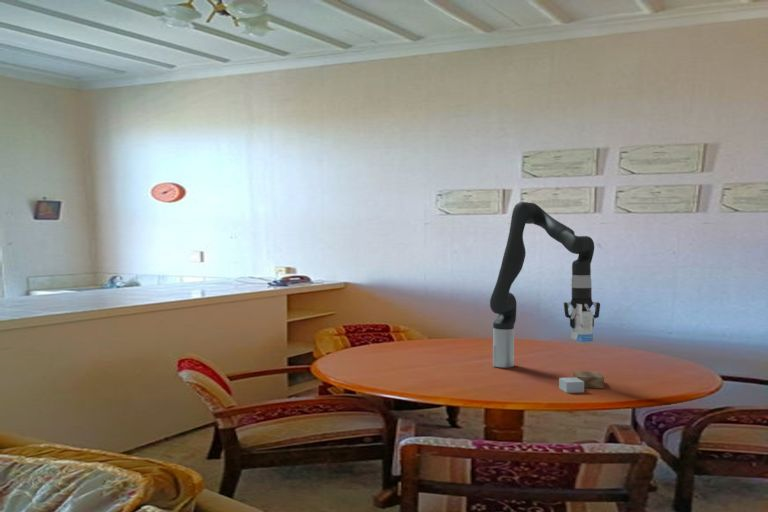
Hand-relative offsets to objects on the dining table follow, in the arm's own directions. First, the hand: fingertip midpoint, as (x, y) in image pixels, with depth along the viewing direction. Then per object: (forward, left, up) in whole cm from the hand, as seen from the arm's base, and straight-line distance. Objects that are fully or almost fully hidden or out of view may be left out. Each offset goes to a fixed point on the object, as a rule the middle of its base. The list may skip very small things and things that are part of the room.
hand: (581, 328), depth 242 cm
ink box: (0, 0, -5) cm, 5 cm away
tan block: (+3, 0, -23) cm, 23 cm away
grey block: (-5, -10, -23) cm, 25 cm away
